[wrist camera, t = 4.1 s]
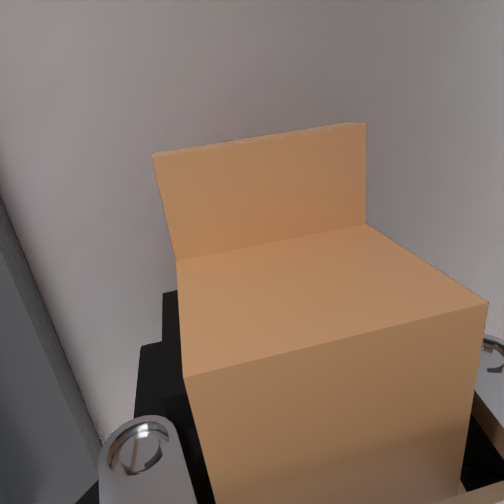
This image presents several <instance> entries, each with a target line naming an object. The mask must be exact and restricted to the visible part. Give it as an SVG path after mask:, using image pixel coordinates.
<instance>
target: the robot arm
mask: <svg viewBox="0 0 504 504" xmlns="http://www.w3.org/2000/svg"><path fill="white" fill-rule="evenodd" d="M98 475H99V479H98V480H97V481H96V482H95V483H94V484H93V485H92V486H91V487H90V488H89V489H88V490H87V492H86V493H85V494H84V495H83V496H82V497H81V498H80V499H79V500H78V501H77V502H76V503H75V504H216V502H215V498H214V494H213V490H212V486H211V483H210V479H209V475H208V471H207V467H206V463H205V460H204V456H203V452H202V448H201V444H200V440H199V437H198V433H197V429H196V425H195V421H194V418H193V414H192V410H191V406H190V402H189V398H188V395H187V391H186V387H185V383H184V379H183V369H182V353H181V337H180V321H179V305H178V290H176V291H172V292H167V293H163V310H162V341H161V342H156V343H152V344H148V345H143V346H142V347H141V350H140V358H139V369H138V379H137V389H136V399H135V409H134V419H132V420H130V421H128V422H127V423H125V424H123V425H122V426H120V427H119V428H118V429H117V430H115V431H114V432H113V433H112V434H111V435H110V437H109V438H108V439H107V440H106V441H105V443H104V445H103V447H102V449H101V451H100V454H99V461H98ZM433 504H504V340H502V339H500V338H497V337H493V336H490V335H486V334H484V335H483V341H482V347H481V353H480V359H479V365H478V372H477V378H476V384H475V390H474V396H473V402H472V408H471V414H470V420H469V426H468V433H467V439H466V445H465V451H464V457H463V463H462V469H461V475H460V481H459V488H458V494H457V496H454V497H451V498H448V499H445V500H442V501H439V502H436V503H433Z"/></svg>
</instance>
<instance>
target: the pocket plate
mask: <svg viewBox="0 0 504 504" xmlns="http://www.w3.org/2000/svg"><path fill="white" fill-rule="evenodd" d="M101 449H102V445H101V442H100V440H99V438H98V435H97V433H96V430H95V428H94V425H93V423H92V420H91V418H90V416H89V413H88V411H87V408H86V406H85V403H84V401H83V398H82V396H81V394H80V391H79V389H78V386H77V384H76V381H75V379H74V376H73V374H72V372H71V369H70V367H69V364H68V362H67V359H66V357H65V354H64V352H63V350H62V347H61V345H60V342H59V340H58V337H57V335H56V332H55V330H54V328H53V325H52V323H51V320H50V318H49V315H48V313H47V310H46V308H45V306H44V303H43V301H42V298H41V296H40V293H39V291H38V288H37V286H36V284H35V281H34V279H33V276H32V274H31V271H30V269H29V266H28V264H27V262H26V259H25V257H24V254H23V252H22V249H21V247H20V244H19V242H18V240H17V237H16V235H15V232H14V230H13V227H12V225H11V222H10V220H9V218H8V215H7V213H6V210H5V208H4V205H3V203H2V200H1V198H0V504H75V503H76V502H77V501H78V500H79V499H80V498H81V497H82V496H83V495H84V494H85V493H86V492H87V490H88V489H89V488H90V487H91V486H92V485H93V484H94V483H95V482H96V481H97V480H98V479H99V475H98V461H99V454H100V451H101Z"/></svg>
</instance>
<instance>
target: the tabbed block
mask: <svg viewBox="0 0 504 504" xmlns="http://www.w3.org/2000/svg"><path fill="white" fill-rule="evenodd" d="M152 162H153V166H154V170H155V174H156V179H157V183H158V187H159V192H160V196H161V200H162V205H163V209H164V213H165V217H166V222H167V226H168V230H169V235H170V239H171V243H172V247H173V252H174V256H175V260H176V273H177V289H178V305H179V321H180V337H181V353H182V369H183V379H184V383H185V387H186V391H187V395H188V398H189V402H190V406H191V410H192V414H193V418H194V421H195V425H196V429H197V433H198V437H199V440H200V444H201V448H202V452H203V456H204V460H205V463H206V467H207V471H208V475H209V479H210V483H211V486H212V490H213V494H214V498H215V502H216V504H433V503H436V502H439V501H442V500H445V499H448V498H451V497H454V496H457V494H458V488H459V481H460V475H461V469H462V463H463V457H464V451H465V445H466V439H467V433H468V426H469V420H470V414H471V408H472V402H473V396H474V390H475V384H476V378H477V372H478V365H479V359H480V353H481V347H482V341H483V335H484V329H485V323H486V317H487V310H488V304H489V302H487V301H486V300H484V299H483V298H481V297H480V296H478V295H477V294H475V293H473V292H472V291H470V290H469V289H467V288H466V287H464V286H463V285H461V284H459V283H458V282H456V281H455V280H453V279H452V278H450V277H449V276H447V275H446V274H444V273H442V272H441V271H439V270H438V269H436V268H435V267H433V266H432V265H430V264H429V263H427V262H425V261H424V260H422V259H421V258H419V257H418V256H416V255H415V254H413V253H412V252H410V251H408V250H407V249H405V248H404V247H402V246H401V245H399V244H398V243H396V242H394V241H393V240H391V239H390V238H388V237H387V236H385V235H384V234H382V233H381V232H379V231H377V230H376V229H374V228H373V227H371V226H370V225H368V224H367V223H366V124H365V123H359V122H346V123H339V124H333V125H327V126H320V127H314V128H308V129H302V130H295V131H289V132H283V133H276V134H270V135H264V136H257V137H251V138H245V139H239V140H232V141H226V142H220V143H213V144H207V145H201V146H194V147H188V148H182V149H176V150H169V151H163V152H157V153H153V154H152Z"/></svg>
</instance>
